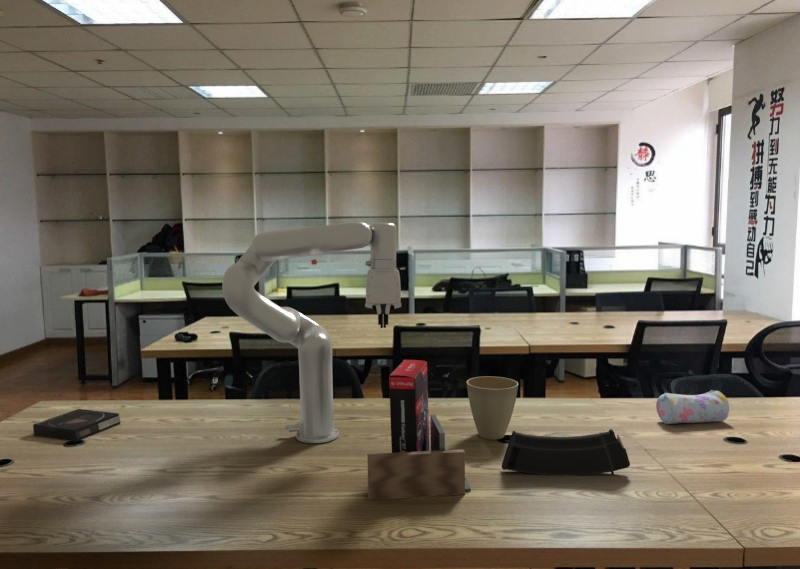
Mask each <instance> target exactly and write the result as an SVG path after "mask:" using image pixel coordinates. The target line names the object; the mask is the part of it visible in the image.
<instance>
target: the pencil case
mask: <svg viewBox="0 0 800 569" xmlns="http://www.w3.org/2000/svg"><path fill="white" fill-rule="evenodd" d="M655 407H656V413H657V415H658V417H659V419H660V421H661V422H662V423H664V425H674V424H675V425H676V424H696V423H697V424H698V423H711V422H712V423H713V422H716V423H718V422H724V421H726V419H727V418H728V417H729V413H730V404H729V399H727V396H726V395H724V394H723V393H722V392H721V391H720V390H713V389H710V391H707V392H705V393H701V394H693V395H692V394H680V393H679V394H678V393H670V392H664V393H663V394H661V395H659V397H658V398H657V401H656V406H655Z"/></svg>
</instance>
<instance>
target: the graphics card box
mask: <svg viewBox="0 0 800 569" xmlns="http://www.w3.org/2000/svg"><path fill="white" fill-rule="evenodd" d="M388 376H389V377H388V382H389V384H388V386H389V407H390V408H389V409H390V410H389V411H390V439H391V441H390V442H391V453H399V452H419V451H431V448H430V425H429V424H430V418H429V417H430V416H429V415H430V414H429V389H428V388H429V387H428V362H427V361H426V360H420V359H419V360H418V359H403V360H402V362H401V363H399V365H397V367H396V368H395V369H394V370H393V371H392V372H391V373H390V374H388Z"/></svg>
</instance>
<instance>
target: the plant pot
mask: <svg viewBox="0 0 800 569" xmlns="http://www.w3.org/2000/svg"><path fill="white" fill-rule="evenodd" d="M466 389H467V396H468V402H469V407H470V410H471V415H472V419H473V422H474V425H475V429H476V431H477V433H478V437H479V438H482V439H486V440H490V441H491V440H493V441H494V440H501V439H504V437H505V436H506V433H507V430H508V428H509V425H510V422H511V419H512V416H513V412H514V408H515V404H516V400H517V395H518V390H519V382H518V381H516V380H515V379H512V378H508V377H502V376H488V375H487V376H486V375H485V376H476V377H471V378H468V379H467V380H466Z"/></svg>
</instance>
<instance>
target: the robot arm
mask: <svg viewBox="0 0 800 569" xmlns="http://www.w3.org/2000/svg"><path fill="white" fill-rule="evenodd" d="M251 242H252V243H251V244H250V246H249V247H248V248H247V249H246V251H245V252H244V253H243V254H242V255H241V256H240V258H239V259H238V260H237V261H236V262H235V263H233V264H231V265H230V266H228V267H227V269H226V271H225V272H224V274H223V278H222V285H221V286H222V287H221V288H222V294H223V298H224V300H225V302H226V304H227V305H228V307H229V309H230V310H232V311H233V312H234V313H235V314H236V315H237V316H239V317H240V318H242V319H243V320H245V321H247V322H248V323H249V324H251V325H253V326H254V327H255V328H257V329H258V330H260V331H262V332H263V333H265V334H266V335H268V336H269V337H271V338H272V339H273V340H275V341H277V342H279V343H289V344H290V345H292V346H294V347H295V348H296V349H297V350H298V352H297V353H298V367H299V368H298V369H299V372H298V373H299V375H298V376H299V398H300V399H299V400H300V402H299V403H300V405H299V406H300V420H299V421H297V422H296V423H290V422H288V423H285V431H288V432H289V433H294V432H296V433H295V439H296V440H297V441H299V442H302V443H305V444H321V443H328V442H331V441H334V440H336V439H338V437H339V436H340V431H339V429H338V428H336V427H334V422H335V421H334V388H333V386H334V385H333V383H334V382H333V344H332V338H331V335H330V333H329V332H328V331H327V329H326V328H325V327H323V326H321V325H320V324H319V323H317V322H315V321H313V320H312V319H311V318H309V317H307V316H306V315H304V314H303V313H301V312H300V311H298V310H296V308H295V309H294V308H292V307H290V306H279V305H278V304H277V303H276V302H273V301H272V300H270V299H269V298H268V297H266V296H264V295H262V294H260V293H259V292H258V291H257V290H256V289H255V286H256V284H257V283H258V282H259V281H260V280H261V278H263V277H264V275H265V274H266V272H267V271H268V270H269V269H270V268H271V267H272V266H273V265H274V263H275V261H279V260H280V261H281V260H287V259H295V258H303V257H311V256H318V255H321V254H326V253H334V252H335V253H336V252H342V251H350V250H357V249H363V248H365V247H369V248H370V259H369V260H367V261H365V266H366V267H370V269H368V270H367V274H366V281H365V282H366V283H365V304H364V307H365V308H367V309H372V310H374V312H375V313H377V324H378V326H380V329H386V328H387V326H388V325H389V314H390V313H392V311H393V310H395V309H399V308H401V307H402V302H401V298H402V297H401V296H402V294H401V293H402V291H401V290H402V288H401V276H400V275H401V274H400V270H399V269H397V226H396V224H395V223H393V222H375V223H365V222H363V221H352V222H345V223H344V222H343V223H337V224H336V223H335V224H329V225H307V226H306V225H305V226H298V227H289V228H283V229H275V230H268V231H267V230H266V231H262V232H261V231H260V232H259V233H257V234H256V235H255V236H254V237H253V239H252V241H251ZM381 305H385V310H384V312H383V311H382V307H381Z"/></svg>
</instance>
